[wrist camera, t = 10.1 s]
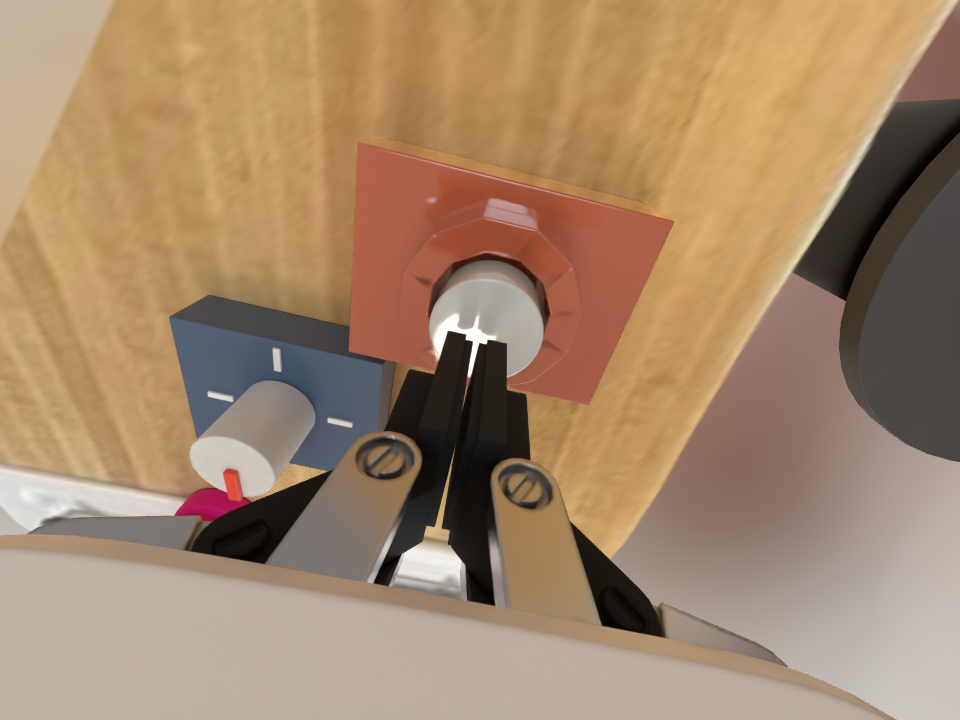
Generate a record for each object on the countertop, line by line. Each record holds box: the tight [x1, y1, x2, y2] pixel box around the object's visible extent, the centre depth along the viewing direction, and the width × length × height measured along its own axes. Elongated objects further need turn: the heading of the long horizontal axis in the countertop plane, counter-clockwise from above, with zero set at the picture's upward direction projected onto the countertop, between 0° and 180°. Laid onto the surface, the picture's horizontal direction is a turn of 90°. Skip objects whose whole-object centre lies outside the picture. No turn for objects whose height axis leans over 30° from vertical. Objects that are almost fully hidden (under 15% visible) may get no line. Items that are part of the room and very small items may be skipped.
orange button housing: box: [349, 139, 674, 405], centre depth 17 cm, size 12×9×6 cm
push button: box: [429, 260, 544, 378], centre depth 14 cm, size 4×4×2 cm
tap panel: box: [169, 295, 395, 471], centre depth 23 cm, size 11×9×3 cm
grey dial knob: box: [190, 380, 316, 501], centre depth 20 cm, size 4×4×5 cm
